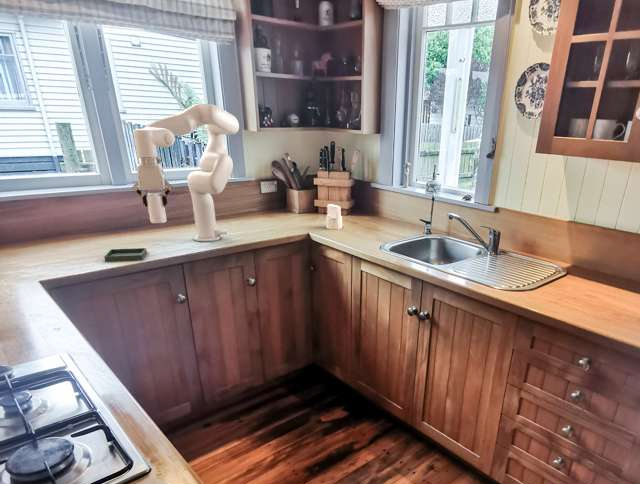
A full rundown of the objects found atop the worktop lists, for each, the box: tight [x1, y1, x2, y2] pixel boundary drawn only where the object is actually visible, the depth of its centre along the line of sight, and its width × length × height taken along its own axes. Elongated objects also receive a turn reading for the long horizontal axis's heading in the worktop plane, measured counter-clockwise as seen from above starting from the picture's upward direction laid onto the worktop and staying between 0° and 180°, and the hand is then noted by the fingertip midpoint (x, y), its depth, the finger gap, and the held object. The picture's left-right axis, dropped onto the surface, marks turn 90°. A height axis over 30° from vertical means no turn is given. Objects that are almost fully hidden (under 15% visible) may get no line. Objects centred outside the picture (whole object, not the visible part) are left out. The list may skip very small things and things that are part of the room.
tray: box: [104, 247, 148, 262], centre depth 197 cm, size 14×11×2 cm
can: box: [146, 192, 167, 225], centre depth 198 cm, size 6×6×12 cm
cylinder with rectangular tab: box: [325, 203, 343, 230], centre depth 256 cm, size 9×9×12 cm
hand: (155, 205), depth 198 cm, fingers closed on can, 6 cm apart
